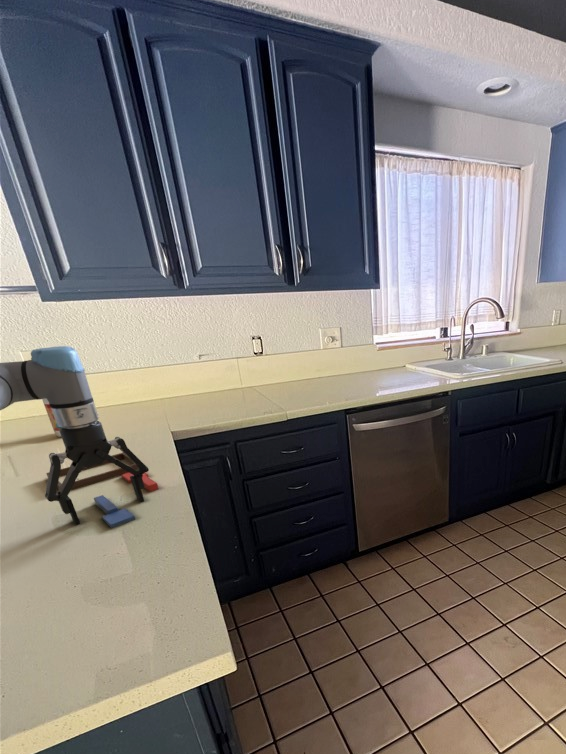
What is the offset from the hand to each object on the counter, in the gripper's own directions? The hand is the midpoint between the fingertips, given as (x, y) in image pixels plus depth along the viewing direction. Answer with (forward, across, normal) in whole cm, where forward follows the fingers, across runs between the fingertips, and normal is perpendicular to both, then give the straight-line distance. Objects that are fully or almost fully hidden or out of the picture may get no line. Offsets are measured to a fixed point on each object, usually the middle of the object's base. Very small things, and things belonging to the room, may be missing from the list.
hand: (110, 512), depth 98 cm
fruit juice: (0, +12, +80) cm, 81 cm away
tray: (0, +5, +28) cm, 28 cm away
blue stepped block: (0, 0, -1) cm, 1 cm away
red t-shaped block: (0, +11, +11) cm, 16 cm away
